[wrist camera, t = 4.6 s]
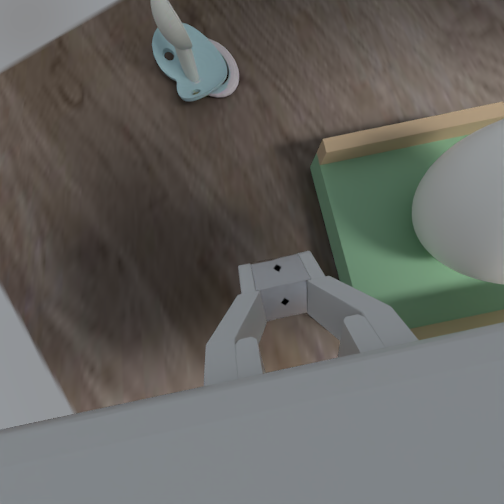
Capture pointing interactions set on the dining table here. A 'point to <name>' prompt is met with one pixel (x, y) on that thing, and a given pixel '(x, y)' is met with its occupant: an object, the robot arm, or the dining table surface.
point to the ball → (465, 206)
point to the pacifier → (191, 57)
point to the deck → (400, 221)
